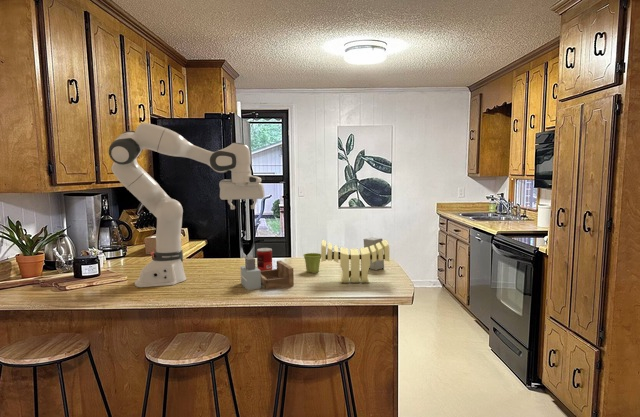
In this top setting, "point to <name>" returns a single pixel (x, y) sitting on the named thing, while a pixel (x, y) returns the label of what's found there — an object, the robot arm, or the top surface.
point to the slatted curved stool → (355, 260)
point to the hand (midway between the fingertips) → (242, 209)
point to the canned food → (264, 259)
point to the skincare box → (373, 241)
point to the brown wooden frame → (278, 276)
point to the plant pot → (312, 262)
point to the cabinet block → (250, 275)
